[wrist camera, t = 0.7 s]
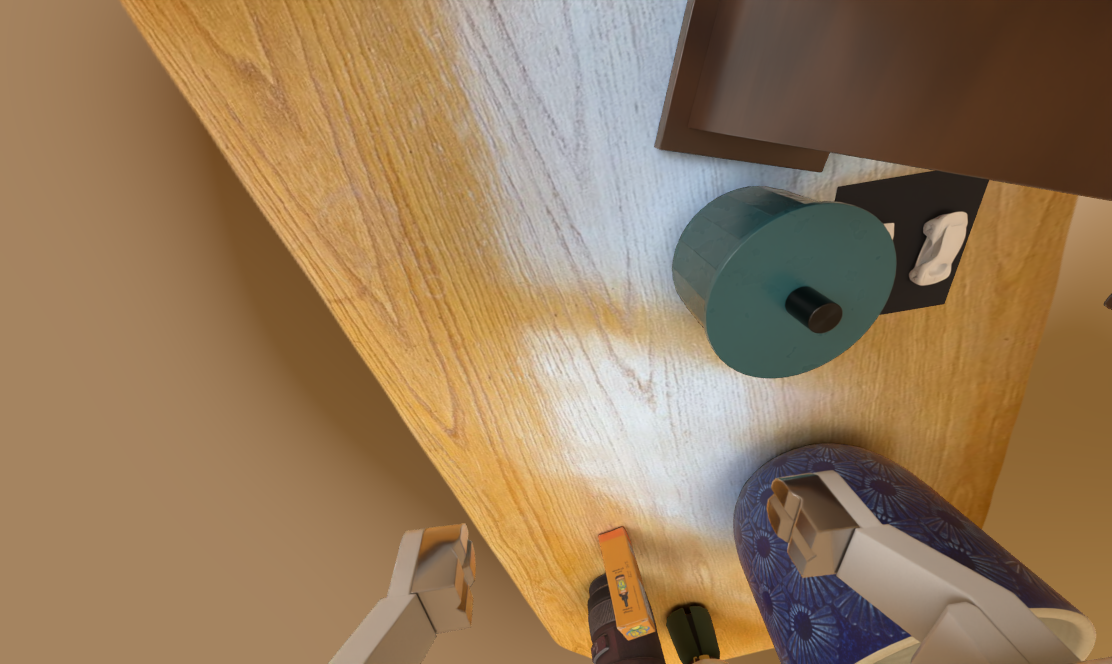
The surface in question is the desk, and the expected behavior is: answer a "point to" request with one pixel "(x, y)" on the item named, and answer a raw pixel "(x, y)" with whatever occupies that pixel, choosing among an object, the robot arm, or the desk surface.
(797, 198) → the pot
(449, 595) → the robot arm
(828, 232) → the pot lid
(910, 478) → the planter
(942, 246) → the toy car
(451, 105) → the desk surface
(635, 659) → the camera lens
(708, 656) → the character mug
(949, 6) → the stand
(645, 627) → the supplement box
